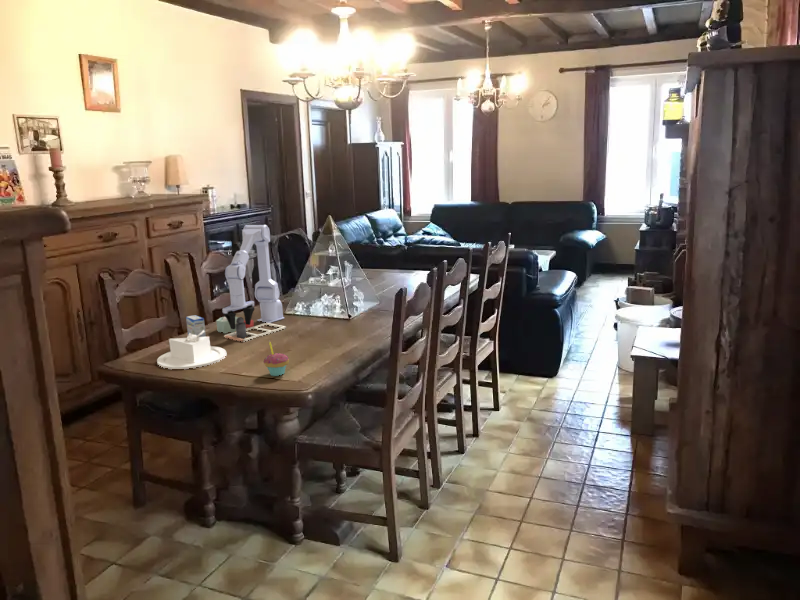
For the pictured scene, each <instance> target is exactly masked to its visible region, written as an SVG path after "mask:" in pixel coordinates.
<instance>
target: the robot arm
mask: <svg viewBox="0 0 800 600" xmlns="http://www.w3.org/2000/svg"><path fill="white" fill-rule="evenodd" d="M242 237H243V240H242V242H241V246H240V248H239V250H236V252H235V254H234V256H233V258H232V260H231V263H230V264H229V265H228V266H226V267H225V271H224V275H225V276H224V277H225V279H226V281H227V284H228V288H229V295H230V296H229V298H230V305H228V306H226V307H223V308H222V310H221V311H222V314H223V317H226V318H227V320H228V322H229V325H230V327H231V329H235V317H237V314H236V312H235V311H238V310H242V311H243V315H244V321H245V322H246V324H248V325H250V323H251V320H252V316H253V314H254V311H255V301H254V300H249V301H246V297H245V296H246V295H245V286H244V278H245V277H246V270H247V268H246V266H247V264H248V262H249V260H250V255H249V252H250V251H251V249H252V248H253V246H254V245H255V246H256V256H257V257H256V258H257V267H258V277H259V280H258V281H257V282H256V283H255V284H254V298H255V299H256V300H257V301H258V303H259V308H260V318H259V319H256V320H257V322H260V321H262V322H261V323H265V322H266V323H271V324H272V323H274V322H277V321H281V320H284V319H285V317H284V313H283V303H282V301H281V300H280V289H279V283H278V282H277V281H275V280H273V279H272V274H271V273H272V272H271V262H270V250H269V243H271V232H270V227H268V225H267V224H245V225H244V227H243V229H242Z"/></svg>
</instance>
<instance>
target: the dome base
mask: <svg viewBox="0 0 800 600" xmlns="http://www.w3.org/2000/svg"><path fill="white" fill-rule="evenodd" d="M223 317H224V316H222V317H221V316H220V317H219V318H218V319H216V320H215V323H216V329H217V330H216V331H218V332H217V333H221V332H223V333H222V334H229V333H228V332H231V333H233V332H235V331H236V325H235V329H231V327H230V325H229V322H228V321H221V320H223ZM238 317H239V316H235V324H236V323H237V322H236V320H237V318H238Z"/></svg>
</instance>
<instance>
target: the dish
mask: <svg viewBox="0 0 800 600" xmlns="http://www.w3.org/2000/svg"><path fill="white" fill-rule="evenodd" d="M204 332H205V333H206V330H205V331H204V330H203V331H202V332H201V333H199V334H198V335H193V334H191V333H189V334H188V333H187V336H186V337H176V338H168V341H169V349H170V351H168V352H166V353H164V354H161V355H159V356H158V358H157V359H156V362H157V366H158V365H159V366H158V367H160V366H161V367H160V368H162V367H163V368H162V369H165V368H168V369H167V370H172V369H184V370H190V369H189V368H193V369H197V368H196V367H199V368H203V367H202V366H204V367H208V366H207V365H209V366H211V365H214V364H217V363H219V362H221V361H223V360H224V359H225V358H226V357H227V355H228V354H227V350H226V349H225V348H222V347H220V346H213V345H211V341H210V336H206V337H199V336H200V335H201V334H203V333H204ZM225 356H226V357H225ZM222 359H223V360H222ZM220 360H221V361H220ZM216 362H217V363H216ZM213 363H214V364H213ZM210 364H211V365H210Z"/></svg>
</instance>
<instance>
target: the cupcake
mask: <svg viewBox="0 0 800 600" xmlns="http://www.w3.org/2000/svg"><path fill="white" fill-rule="evenodd" d="M268 344H269V348H270V353H271V354H269V355H267V356H266V357H265V358H264V360H263V365H264V366H265V367H266V369H267V370H268V371H269V374H270V376H271V377H279V375H280V376H282V374H283V375H284V374H285V373H286V368H287V366H288V365H289V363H290V359H289V357H288V355H287V354H284V353H281V352H277V353H276V352H275V353H274V349H273V345H272V342H271V340H268Z"/></svg>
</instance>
